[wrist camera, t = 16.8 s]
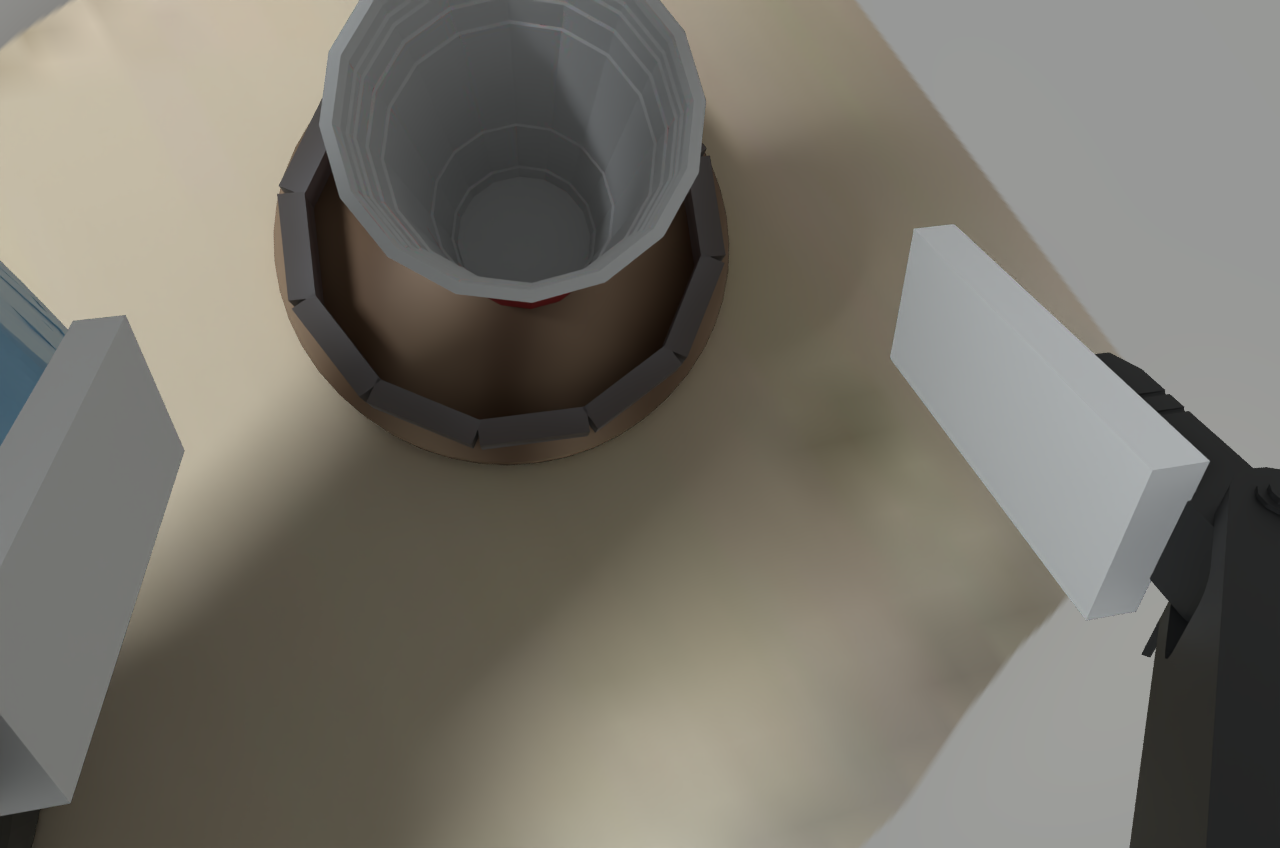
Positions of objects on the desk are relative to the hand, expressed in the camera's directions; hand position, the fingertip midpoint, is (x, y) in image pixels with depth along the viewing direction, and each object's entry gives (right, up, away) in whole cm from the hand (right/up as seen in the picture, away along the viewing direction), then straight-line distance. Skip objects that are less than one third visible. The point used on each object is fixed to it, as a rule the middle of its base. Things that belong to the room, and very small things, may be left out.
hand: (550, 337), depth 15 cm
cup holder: (-4, +6, +22) cm, 23 cm away
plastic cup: (-3, +6, +21) cm, 22 cm away
